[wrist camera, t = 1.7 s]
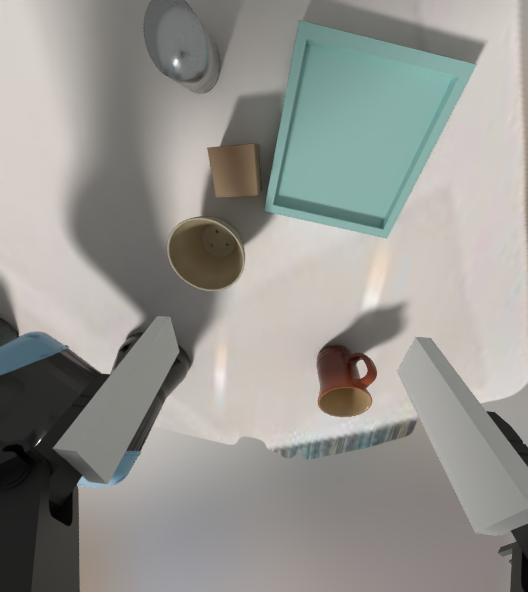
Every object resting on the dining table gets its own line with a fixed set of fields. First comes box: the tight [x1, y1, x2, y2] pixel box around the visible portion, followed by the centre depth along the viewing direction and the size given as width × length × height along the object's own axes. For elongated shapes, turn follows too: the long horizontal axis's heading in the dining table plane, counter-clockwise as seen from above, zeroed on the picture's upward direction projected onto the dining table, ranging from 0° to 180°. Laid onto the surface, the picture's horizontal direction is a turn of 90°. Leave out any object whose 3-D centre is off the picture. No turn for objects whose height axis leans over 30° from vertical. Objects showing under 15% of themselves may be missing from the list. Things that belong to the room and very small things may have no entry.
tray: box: [264, 20, 476, 238], centre depth 26 cm, size 17×17×2 cm
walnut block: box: [207, 144, 262, 198], centre depth 27 cm, size 5×5×5 cm
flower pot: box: [167, 216, 245, 291], centre depth 32 cm, size 10×10×7 cm
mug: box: [317, 346, 377, 417], centre depth 41 cm, size 12×9×10 cm
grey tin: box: [144, 0, 220, 93], centre depth 21 cm, size 5×5×6 cm
